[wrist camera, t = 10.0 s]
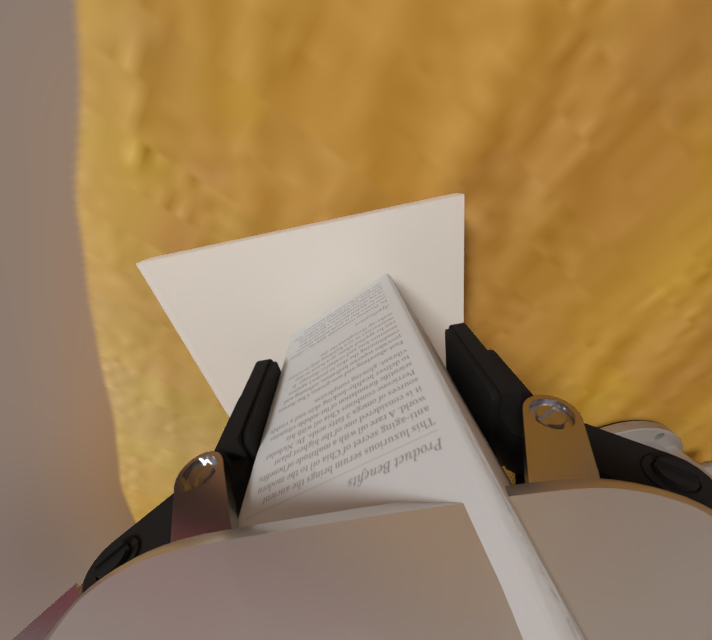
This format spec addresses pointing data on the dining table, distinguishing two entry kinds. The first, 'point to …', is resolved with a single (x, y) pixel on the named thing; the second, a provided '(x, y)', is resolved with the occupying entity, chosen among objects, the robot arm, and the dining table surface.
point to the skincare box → (391, 444)
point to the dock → (308, 283)
